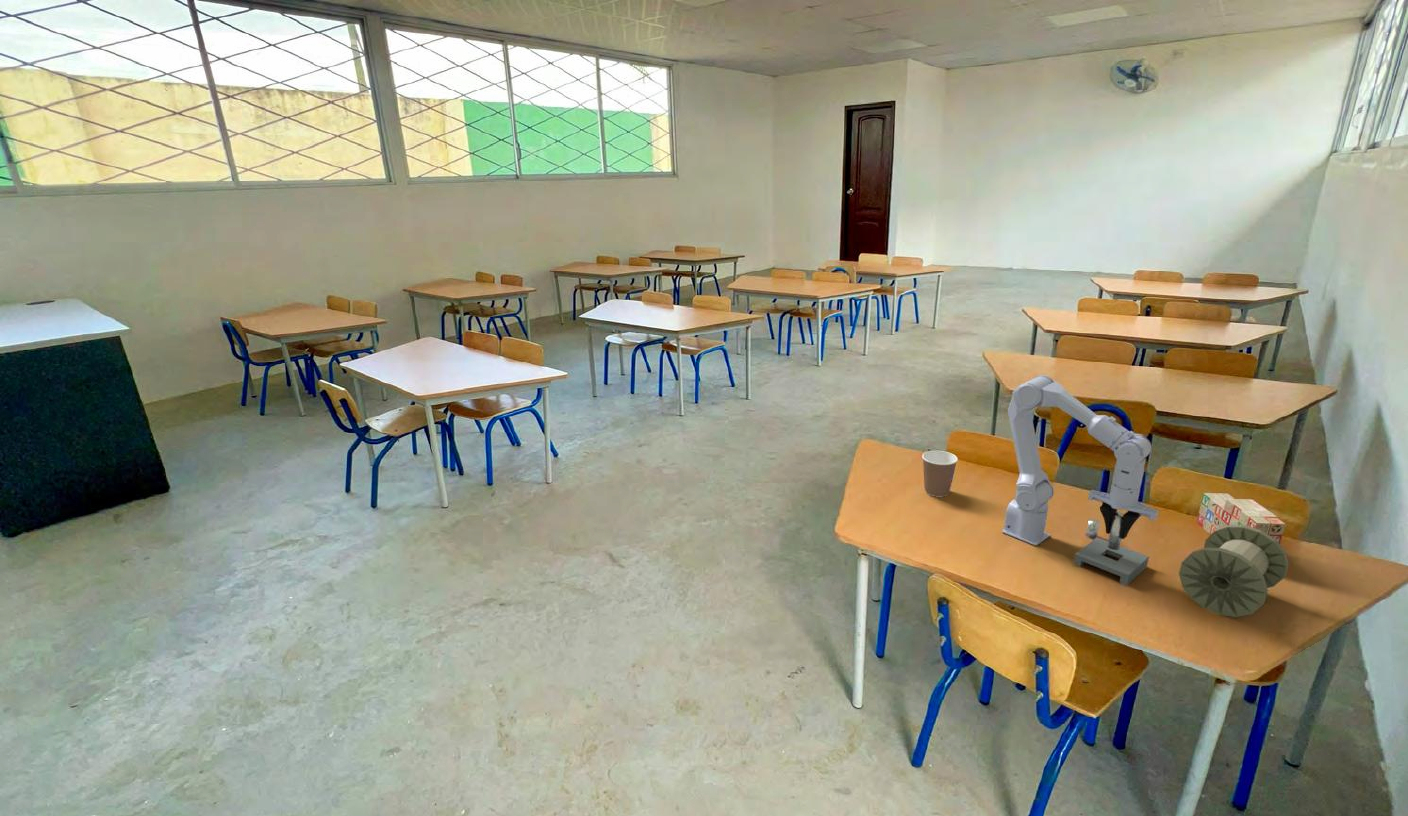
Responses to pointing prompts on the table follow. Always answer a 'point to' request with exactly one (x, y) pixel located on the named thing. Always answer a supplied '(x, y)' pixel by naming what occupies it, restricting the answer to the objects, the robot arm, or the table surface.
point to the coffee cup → (938, 472)
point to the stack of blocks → (1237, 514)
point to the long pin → (1115, 531)
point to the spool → (1234, 570)
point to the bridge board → (1124, 567)
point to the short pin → (1092, 528)
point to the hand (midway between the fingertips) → (1116, 534)
